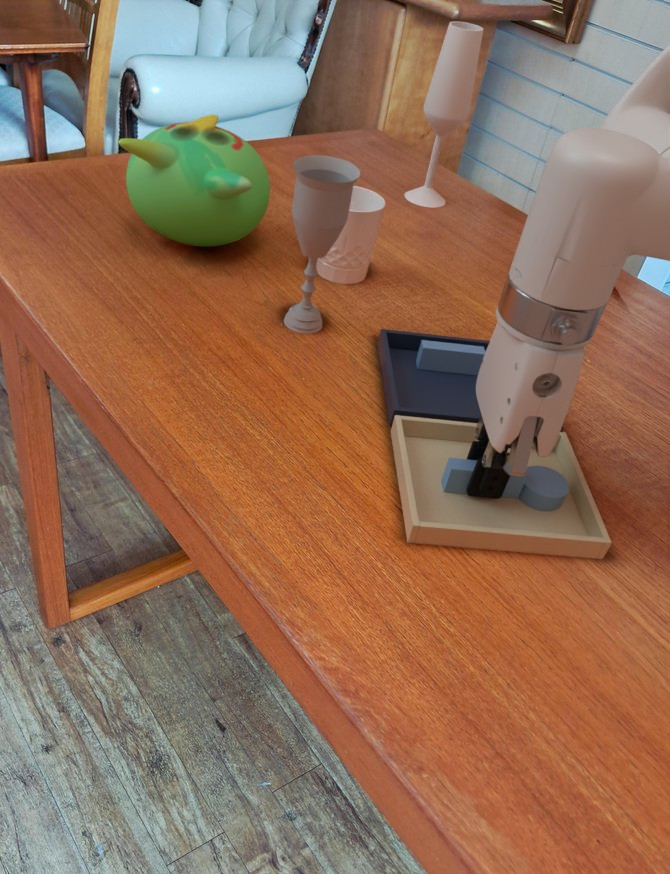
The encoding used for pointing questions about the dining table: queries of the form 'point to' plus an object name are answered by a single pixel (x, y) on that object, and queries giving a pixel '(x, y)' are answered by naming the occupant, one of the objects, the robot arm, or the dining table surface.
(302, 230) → the chalice
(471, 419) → the blue tray
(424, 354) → the blue spoon
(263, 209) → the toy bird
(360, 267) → the white cup
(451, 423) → the cream tray
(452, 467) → the blue spoon
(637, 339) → the dining table surface
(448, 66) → the champagne flute
